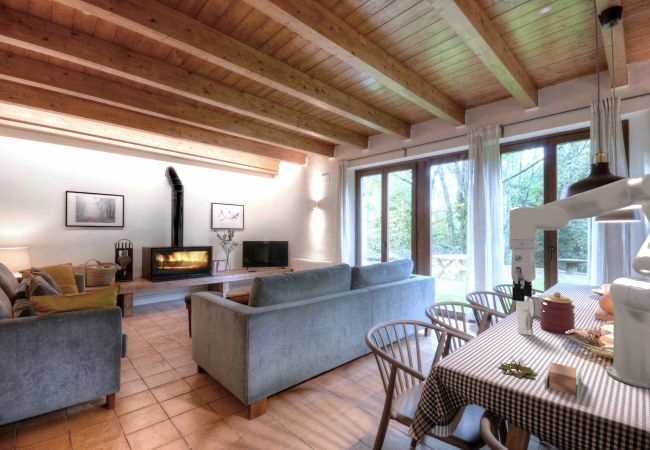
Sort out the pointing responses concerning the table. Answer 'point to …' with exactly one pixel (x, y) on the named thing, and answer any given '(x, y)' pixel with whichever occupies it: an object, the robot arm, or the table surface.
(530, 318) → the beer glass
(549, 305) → the canister
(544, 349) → the table surface
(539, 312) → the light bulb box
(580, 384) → the pair of grey-green bars
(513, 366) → the green twiggy clump
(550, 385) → the terracotta block
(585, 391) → the table surface
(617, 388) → the table surface
